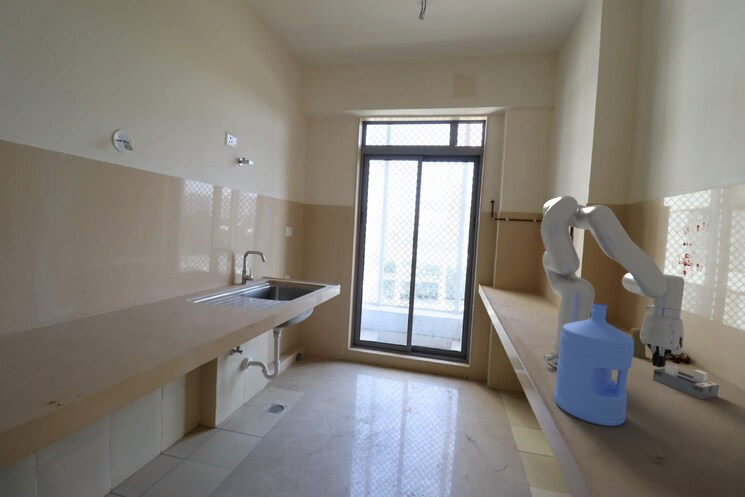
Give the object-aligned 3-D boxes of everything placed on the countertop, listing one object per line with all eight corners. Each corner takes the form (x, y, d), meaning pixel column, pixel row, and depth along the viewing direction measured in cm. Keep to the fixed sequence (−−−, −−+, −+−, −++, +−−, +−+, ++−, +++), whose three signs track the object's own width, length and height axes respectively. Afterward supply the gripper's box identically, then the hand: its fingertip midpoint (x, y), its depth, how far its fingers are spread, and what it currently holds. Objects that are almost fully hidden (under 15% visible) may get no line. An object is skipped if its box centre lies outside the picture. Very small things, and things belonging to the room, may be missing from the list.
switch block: (701, 399, 95) (703, 386, 95) (652, 379, 107) (654, 368, 106) (717, 396, 97) (718, 384, 97) (668, 377, 109) (669, 366, 109)
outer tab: (702, 386, 99) (703, 373, 98) (692, 382, 101) (694, 370, 101) (706, 385, 99) (707, 373, 99) (696, 382, 102) (697, 369, 101)
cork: (649, 359, 126) (652, 331, 125) (632, 357, 127) (635, 329, 126) (640, 353, 132) (643, 327, 131) (623, 351, 133) (626, 325, 132)
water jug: (543, 403, 86) (554, 300, 84) (567, 389, 95) (578, 296, 94) (612, 436, 73) (627, 316, 72) (633, 415, 83) (646, 309, 81)
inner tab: (673, 379, 102) (674, 367, 102) (664, 376, 104) (665, 364, 104) (677, 379, 103) (678, 367, 102) (668, 375, 105) (669, 364, 105)
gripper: (632, 306, 112) (626, 357, 113) (686, 318, 98) (678, 377, 99) (646, 306, 114) (640, 356, 115) (700, 318, 100) (693, 375, 101)
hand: (658, 366), depth 107 cm, fingers closed
